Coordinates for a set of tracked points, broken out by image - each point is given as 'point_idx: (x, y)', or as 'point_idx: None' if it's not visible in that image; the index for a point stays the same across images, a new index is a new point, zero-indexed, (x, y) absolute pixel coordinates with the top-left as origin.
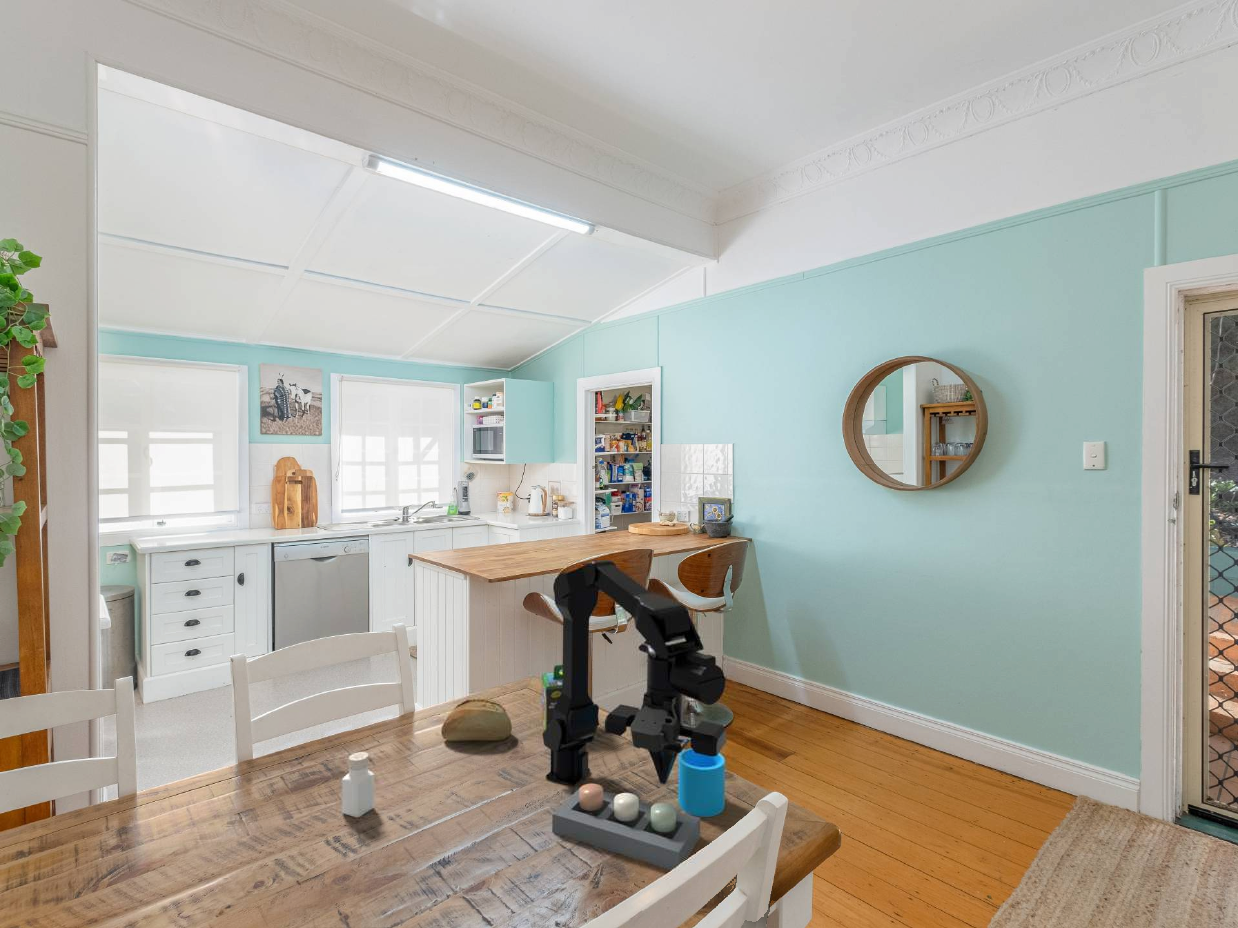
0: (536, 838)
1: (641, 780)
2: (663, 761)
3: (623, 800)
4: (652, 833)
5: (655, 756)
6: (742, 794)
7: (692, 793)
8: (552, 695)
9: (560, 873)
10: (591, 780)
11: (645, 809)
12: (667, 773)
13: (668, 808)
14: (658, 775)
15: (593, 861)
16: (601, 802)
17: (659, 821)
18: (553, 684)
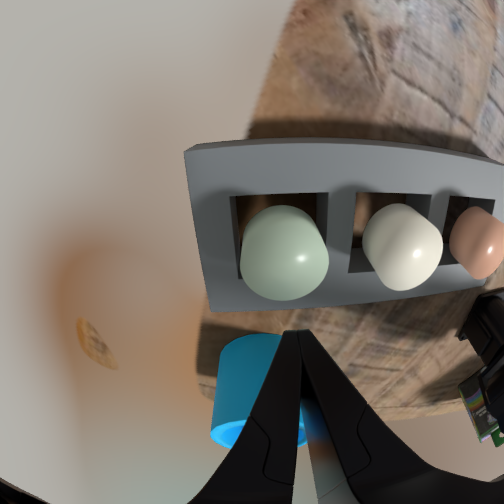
0: (500, 131)
1: (381, 363)
2: (293, 440)
3: (419, 249)
4: None
5: (364, 452)
6: (214, 394)
7: (264, 368)
8: None
9: (429, 37)
10: (455, 323)
11: (353, 282)
12: (265, 377)
13: (271, 279)
14: (323, 353)
15: (397, 90)
16: (457, 239)
17: (279, 217)
18: None
